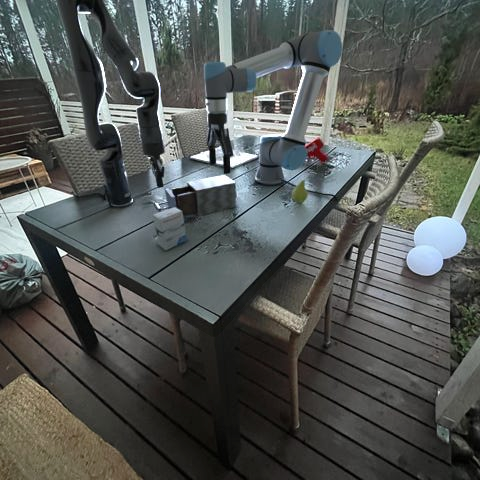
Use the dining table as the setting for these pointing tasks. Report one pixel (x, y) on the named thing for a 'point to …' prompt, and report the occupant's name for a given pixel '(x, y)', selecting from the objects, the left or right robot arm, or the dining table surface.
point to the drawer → (180, 200)
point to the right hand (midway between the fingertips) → (219, 168)
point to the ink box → (170, 228)
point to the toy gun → (316, 150)
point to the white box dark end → (214, 194)
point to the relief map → (235, 160)
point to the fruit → (300, 192)
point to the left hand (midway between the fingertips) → (160, 186)
